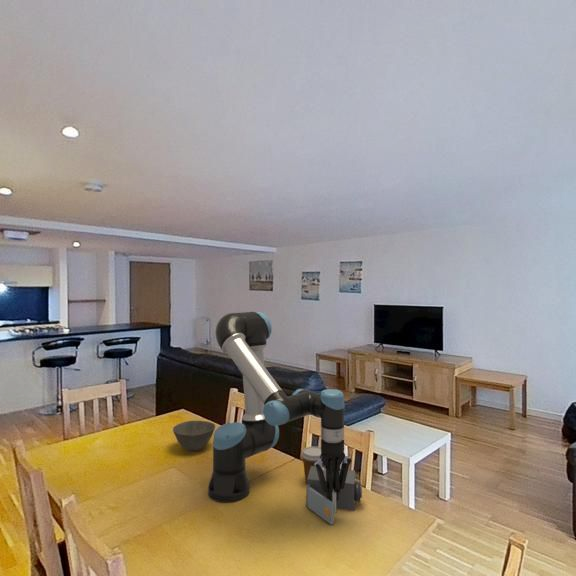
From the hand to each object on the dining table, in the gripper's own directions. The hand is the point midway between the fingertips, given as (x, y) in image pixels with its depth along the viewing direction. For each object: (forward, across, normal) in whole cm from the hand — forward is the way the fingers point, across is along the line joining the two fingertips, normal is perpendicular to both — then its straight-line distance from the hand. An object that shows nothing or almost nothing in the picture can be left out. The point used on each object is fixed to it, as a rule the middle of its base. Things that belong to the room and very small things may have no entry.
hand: (332, 510), depth 129 cm
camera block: (+2, +5, +9) cm, 11 cm away
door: (+2, -4, +3) cm, 5 cm away
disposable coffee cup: (+3, +3, +23) cm, 24 cm away
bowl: (+2, -36, +69) cm, 78 cm away
